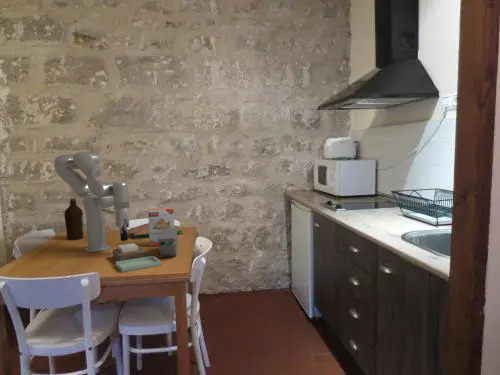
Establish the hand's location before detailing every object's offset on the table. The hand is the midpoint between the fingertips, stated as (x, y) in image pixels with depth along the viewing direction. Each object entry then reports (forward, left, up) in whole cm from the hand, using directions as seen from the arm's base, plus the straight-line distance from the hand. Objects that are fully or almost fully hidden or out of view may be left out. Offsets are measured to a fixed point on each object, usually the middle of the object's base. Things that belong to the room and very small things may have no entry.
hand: (124, 240), depth 207 cm
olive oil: (-56, -16, -7) cm, 59 cm away
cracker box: (-6, +23, -7) cm, 25 cm away
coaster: (+9, 0, -3) cm, 9 cm away
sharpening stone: (+14, +19, -7) cm, 25 cm away
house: (-39, +29, -8) cm, 49 cm away
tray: (+26, 0, -7) cm, 27 cm away
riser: (+12, 0, -7) cm, 14 cm away
